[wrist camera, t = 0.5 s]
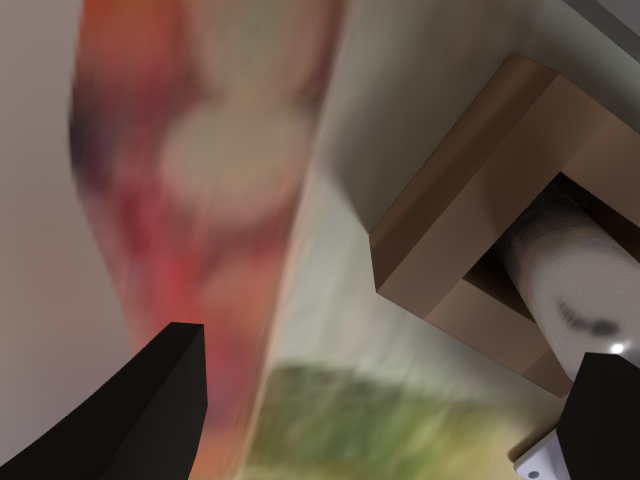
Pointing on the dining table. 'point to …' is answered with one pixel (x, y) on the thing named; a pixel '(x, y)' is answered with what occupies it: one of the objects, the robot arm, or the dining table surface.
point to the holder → (503, 210)
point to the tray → (614, 21)
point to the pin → (573, 280)
